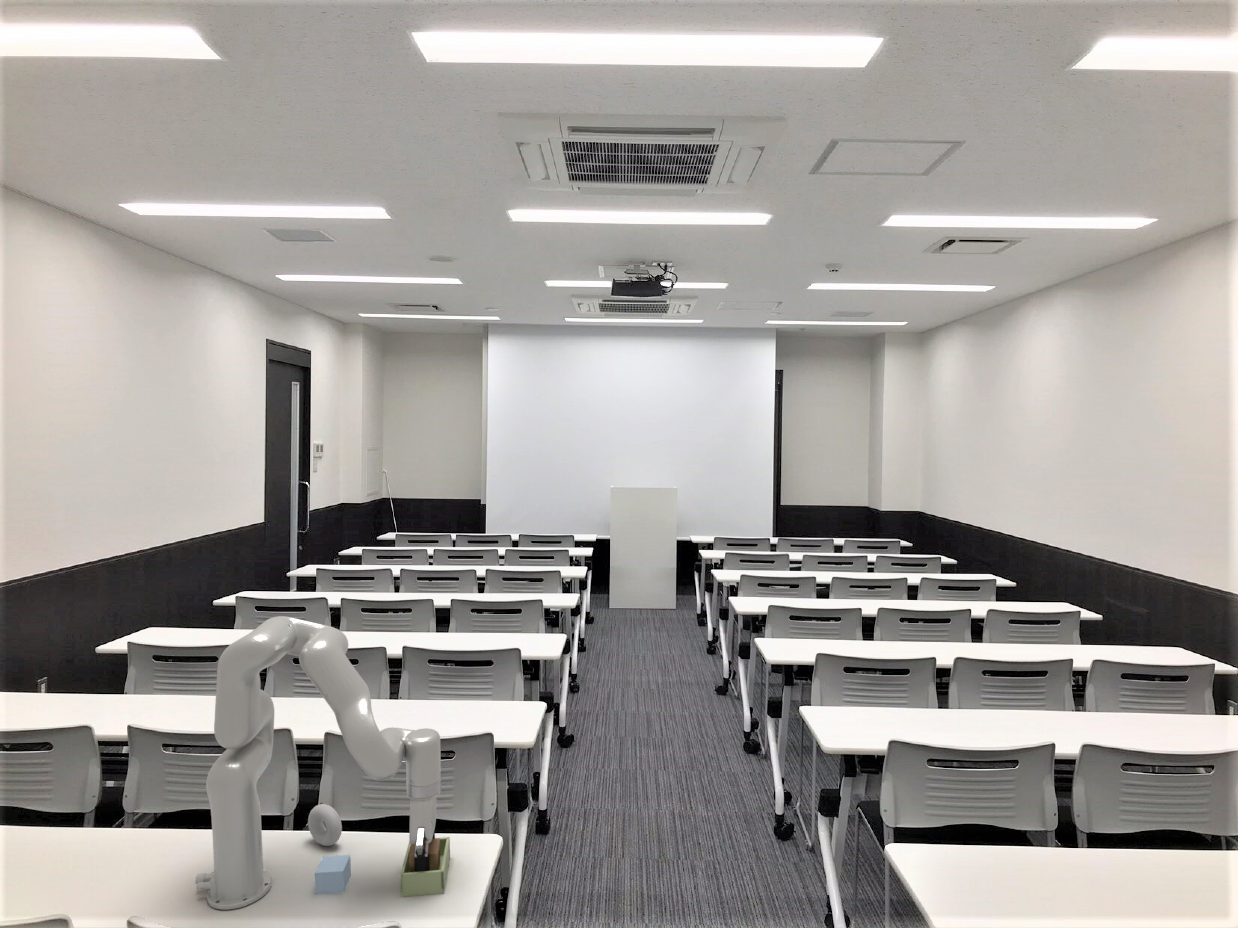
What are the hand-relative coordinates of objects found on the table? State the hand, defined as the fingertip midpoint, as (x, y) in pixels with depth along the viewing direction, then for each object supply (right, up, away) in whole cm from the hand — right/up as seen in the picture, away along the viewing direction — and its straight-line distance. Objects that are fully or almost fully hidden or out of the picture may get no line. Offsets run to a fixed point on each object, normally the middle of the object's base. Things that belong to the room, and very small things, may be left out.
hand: (425, 859), depth 168 cm
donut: (-28, -4, +13) cm, 31 cm away
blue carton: (-20, -5, -2) cm, 20 cm away
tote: (0, -4, 0) cm, 4 cm away
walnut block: (0, -3, 0) cm, 3 cm away
